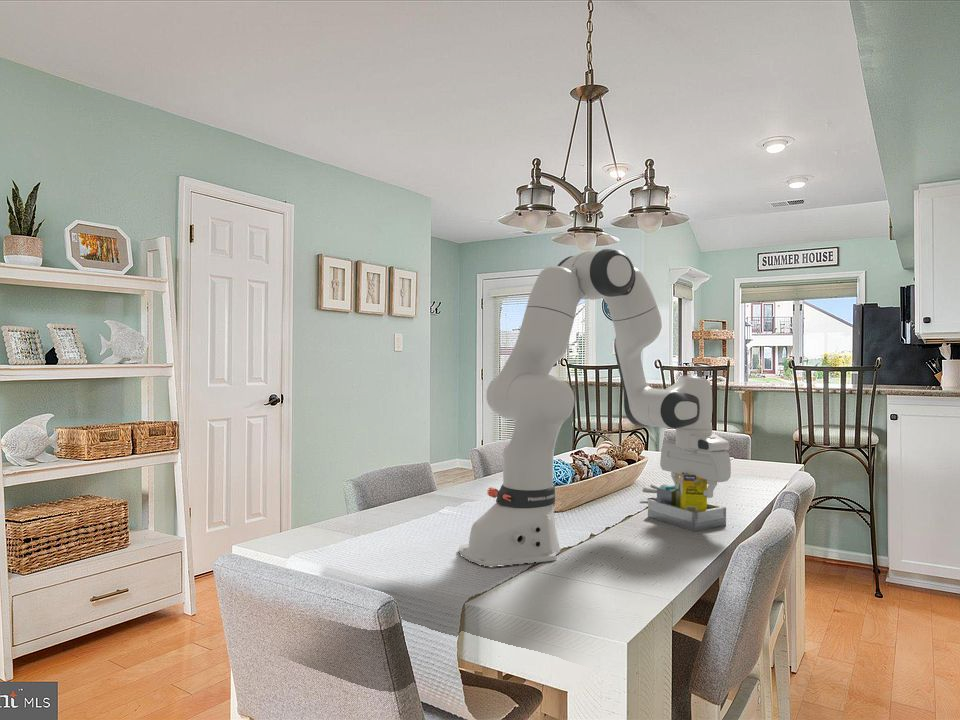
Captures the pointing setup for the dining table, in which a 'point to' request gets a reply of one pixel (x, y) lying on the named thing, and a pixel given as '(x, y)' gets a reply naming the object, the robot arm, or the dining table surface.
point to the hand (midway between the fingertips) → (693, 493)
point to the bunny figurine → (654, 488)
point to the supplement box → (692, 492)
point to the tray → (684, 511)
